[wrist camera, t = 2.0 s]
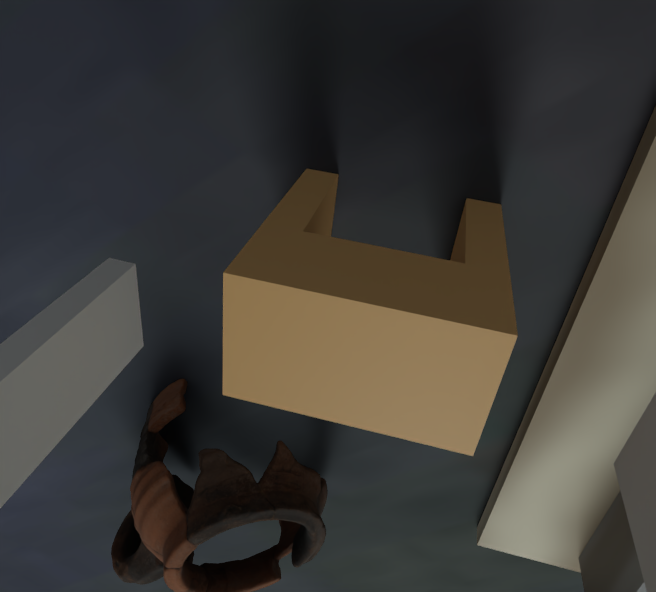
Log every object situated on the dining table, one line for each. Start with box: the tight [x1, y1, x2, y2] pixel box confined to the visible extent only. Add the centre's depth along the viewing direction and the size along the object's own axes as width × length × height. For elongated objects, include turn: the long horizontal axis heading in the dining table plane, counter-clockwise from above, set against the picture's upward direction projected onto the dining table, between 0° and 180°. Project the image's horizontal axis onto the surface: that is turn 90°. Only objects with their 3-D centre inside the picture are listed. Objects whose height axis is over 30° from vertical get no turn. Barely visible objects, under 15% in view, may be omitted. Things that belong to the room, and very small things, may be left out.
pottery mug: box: [111, 379, 327, 592], centre depth 27 cm, size 12×10×8 cm
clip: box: [223, 169, 518, 456], centre depth 17 cm, size 7×4×8 cm, turn 84°
